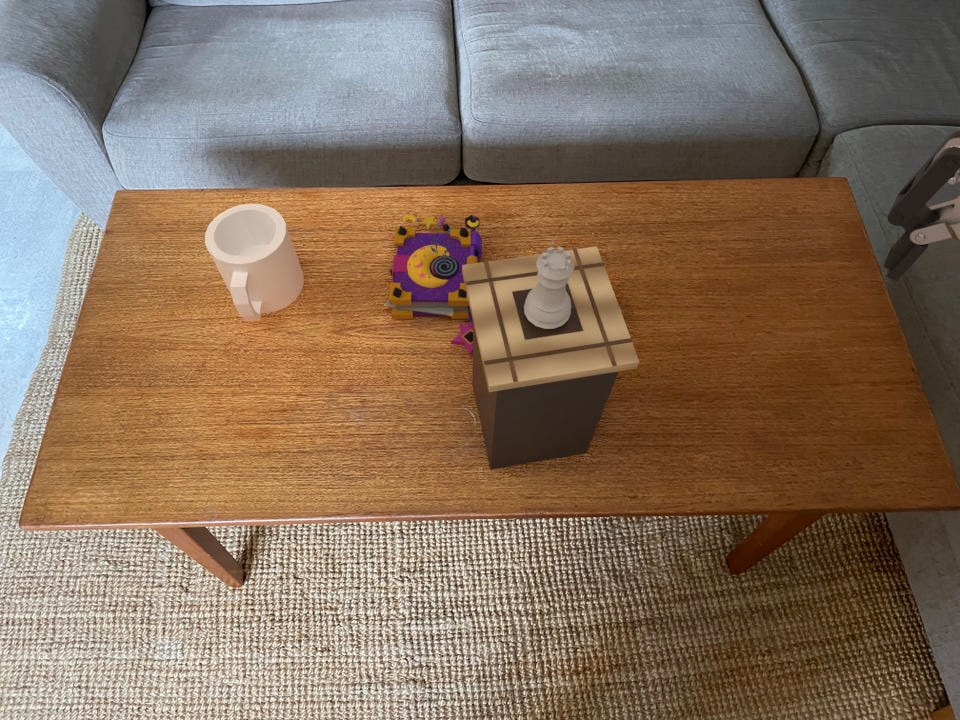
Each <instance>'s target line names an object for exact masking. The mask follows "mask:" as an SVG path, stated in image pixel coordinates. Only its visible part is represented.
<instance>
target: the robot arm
mask: <svg viewBox="0 0 960 720" xmlns="http://www.w3.org/2000/svg"><path fill="white" fill-rule="evenodd" d="M958 183H960V130H956V131H954V132H952V133H951V134H950V135H949V136H948V137H947V138H946V139H945V140H944V142H943V143H941V145H940V146H939V147H938V148H937V149H936V151H934V152H933V154H932V155H931V156H930V157H929V158H928V159H927V161H926V162H925V163H924V164H923V165H922V166H921V167H920V168H919V169H918V171H917V172H916V173H915V174H914V175H913V176H912V177H911V179H910V180H909V181H907V183H906V184H905V185H904V186H903V187H902V188H901V190H900V191H899V192H898V193H897V196H896V198H895V200H894V202H893V204H892V207H891V209H890V211H889V213H888V215H887V221H888V223H889V224H891V225H892V226H896V227H902V228H903V230H905V232H903V233H902V235H901V236H900V237H899V239H897V241H896V242H895V243H894V244H893V245H892V247H891V248H890V250H889V252H888V254H887V256H886V258H885V260H884V264H883V268H885V269H887V270H888V271H887V273H886V275H885V276H886V278H888V279H890V280H893V281H895V282H897V281H899V280H900V279H901V278H902V277H903V275H904V274H905V273H906V272H907V271H908V270H909V269H910V268H911V267H912V266H913V265H914V264H915V262H916V261H917V260H918V259H919V258H920V257H921V256H922V255H923V254H924V253H925V252H926V251H927V250H928V247H929V245H930V244H932V243H936V242H941V241H944V240H948V239H954V240H956V241H960V195H958V196H957V197H956V198H954V199H952V200H947V201H945V202H941V203H938V204H933V205H931V206H928V205H927V203H928V202H929V201H930V200H931V199H932V198H933V197H934V196H935V195H936V194H937V192H938V191H940V189H941V188H943V186H945V184H948V185H950V186H954V185H957V184H958Z"/></svg>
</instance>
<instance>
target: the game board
mask: <svg viewBox="0 0 960 720" xmlns="http://www.w3.org/2000/svg"><path fill="white" fill-rule="evenodd" d="M563 252H564V253H566V252H569V253H570V255H571V259H572V260H573V262H574V270H573V273H572V274H571V275H570V276H569V281H568V283H567V284H566V292H567V293H568V295H569V297H570V300H571V314H570V317H569V319H568V321H566V322H565V323H564V324H563V325H562V326H559V327H557V328H554V329H544V328H541V327H538V326H535V325H534V324H533V323H531V322H530V321H529V320H528V319H527V317H526V315H525V313H524V305H525V300H526V298H527V295H528V293H529V292H530V291H531V290H532V289H533V288H534V287H536V286H537V284H538V282H539V280H538V275H537V273H538V269H537V264H536V262H537V260H538V257H539V256H541V255H542V254H543V253H537V254H532V255H524V256H516V257H509V258H503V259H496V260H495V259H494V260H483V261H482V262H481V261H479V262H478V263H473V264H466V265H462V274H463V278H464V283H465V287H466V291H467V296H468V300H469V305H470V309H471V314H472V318H473V323H474V327H475V332H476V336H477V341H478V345H479V350H480V354H481V359H482V363H483V368H484V372H485V376H486V381H487V385H488V390H489V392H494V391H500V390H506V389H512V388H519V387H525V386H531V385H537V384H543V383H550V382H556V381H562V380H568V379H574V378H581V377H587V376H593V375H599V374H605V373H612V372H618V371H619V372H622V371H629V370H636V369H638V367H639V364H640V360H639V356H638V354H637V351H636V348H635V345H634V341H633V339H632V337H631V334H630V333H629V329H628V327H627V326H628V325H627V324H626V321H625V318H624V315H623V313H622V309H621V308H620V307H621V306H620V307H619V305H618V304H619V302H618V299H617V297H616V293H615V291H614V288H613V285H612V283H611V281H610V278H609V275H608V271H607V270H606V267H605V263H604V262H603V258H602V255H601V253H600V250H599V247H598V246H589V247H588V246H587V247H583V248H581V247H580V248H572V249H568V250H563ZM614 293H615V294H614ZM620 309H621V310H620Z"/></svg>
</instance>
